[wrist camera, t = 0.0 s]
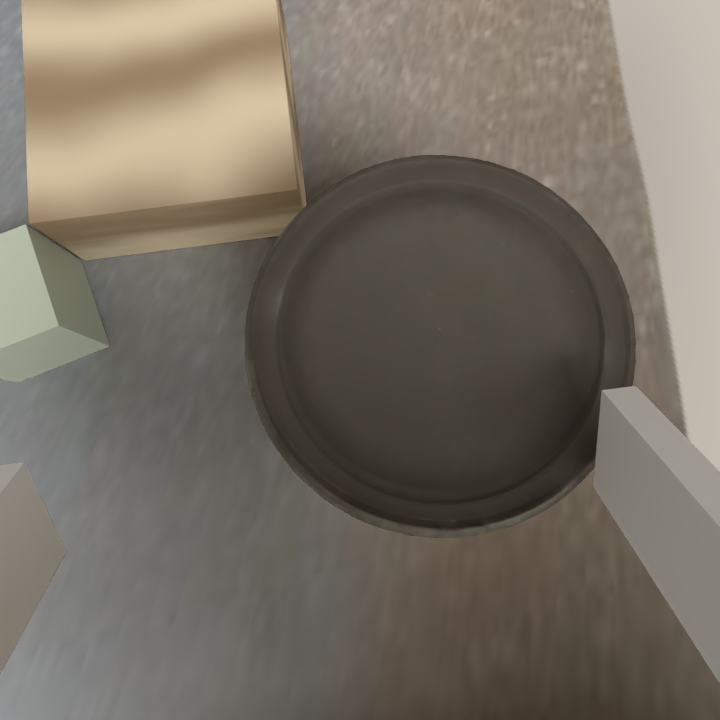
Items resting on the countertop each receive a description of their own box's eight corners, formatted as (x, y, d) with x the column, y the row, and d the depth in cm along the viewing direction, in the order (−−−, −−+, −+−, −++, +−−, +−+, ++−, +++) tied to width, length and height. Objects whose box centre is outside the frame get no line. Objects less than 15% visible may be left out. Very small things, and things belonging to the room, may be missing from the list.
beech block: (309, 232, 30) (297, 189, 25) (84, 260, 30) (28, 223, 26) (286, 30, 32) (270, -46, 27) (74, 57, 32) (21, -14, 27)
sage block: (110, 346, 30) (58, 325, 25) (19, 382, 30) (-52, 369, 25) (81, 261, 31) (25, 224, 26) (-8, 295, 30) (-82, 265, 25)
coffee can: (270, 352, 29) (177, 264, 16) (445, 257, 30) (505, 89, 16) (368, 535, 28) (362, 618, 14) (550, 431, 28) (718, 411, 15)
